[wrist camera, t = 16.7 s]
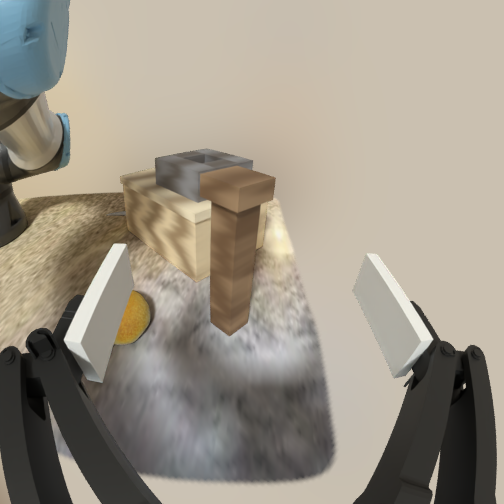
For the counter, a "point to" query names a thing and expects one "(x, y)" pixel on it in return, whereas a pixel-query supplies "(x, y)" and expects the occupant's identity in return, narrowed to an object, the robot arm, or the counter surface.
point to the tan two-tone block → (179, 208)
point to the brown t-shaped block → (233, 240)
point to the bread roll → (133, 320)
